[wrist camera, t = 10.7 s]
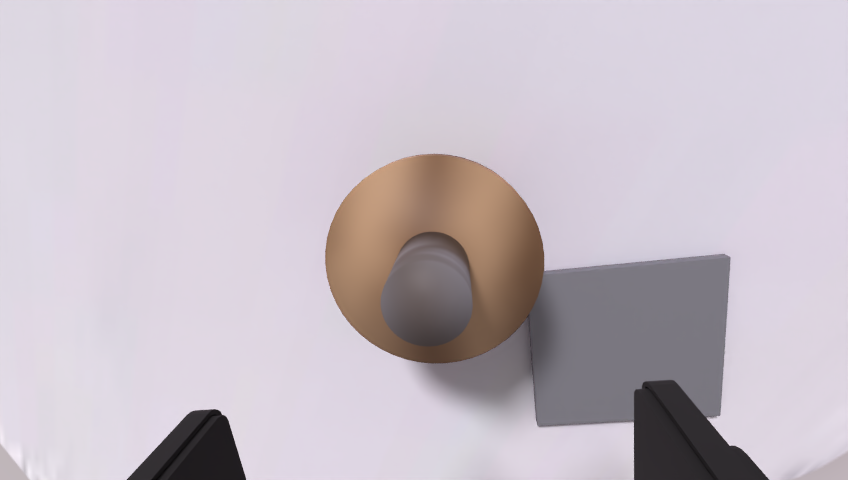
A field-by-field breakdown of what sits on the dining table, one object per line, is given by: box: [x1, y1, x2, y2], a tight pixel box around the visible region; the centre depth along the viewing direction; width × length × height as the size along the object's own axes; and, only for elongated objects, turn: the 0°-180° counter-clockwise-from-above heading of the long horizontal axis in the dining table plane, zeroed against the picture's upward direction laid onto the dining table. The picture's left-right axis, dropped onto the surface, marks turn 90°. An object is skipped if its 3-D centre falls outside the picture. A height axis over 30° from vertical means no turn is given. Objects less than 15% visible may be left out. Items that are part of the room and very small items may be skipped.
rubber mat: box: [529, 254, 730, 426], centre depth 34 cm, size 15×14×1 cm
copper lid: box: [325, 154, 544, 363], centre depth 21 cm, size 12×12×6 cm
